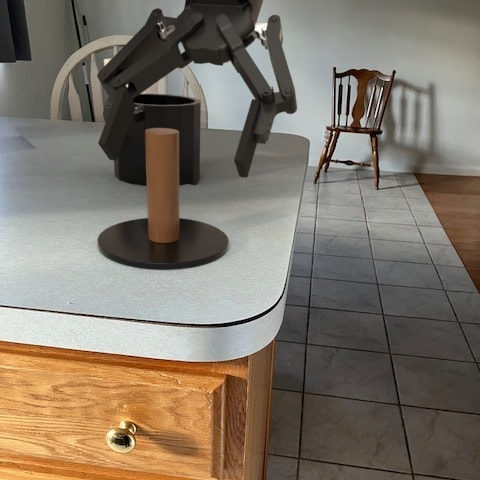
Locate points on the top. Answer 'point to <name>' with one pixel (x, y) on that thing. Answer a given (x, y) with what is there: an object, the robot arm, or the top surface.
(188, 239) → the lid
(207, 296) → the top surface
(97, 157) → the top surface
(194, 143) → the pot
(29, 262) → the top surface
